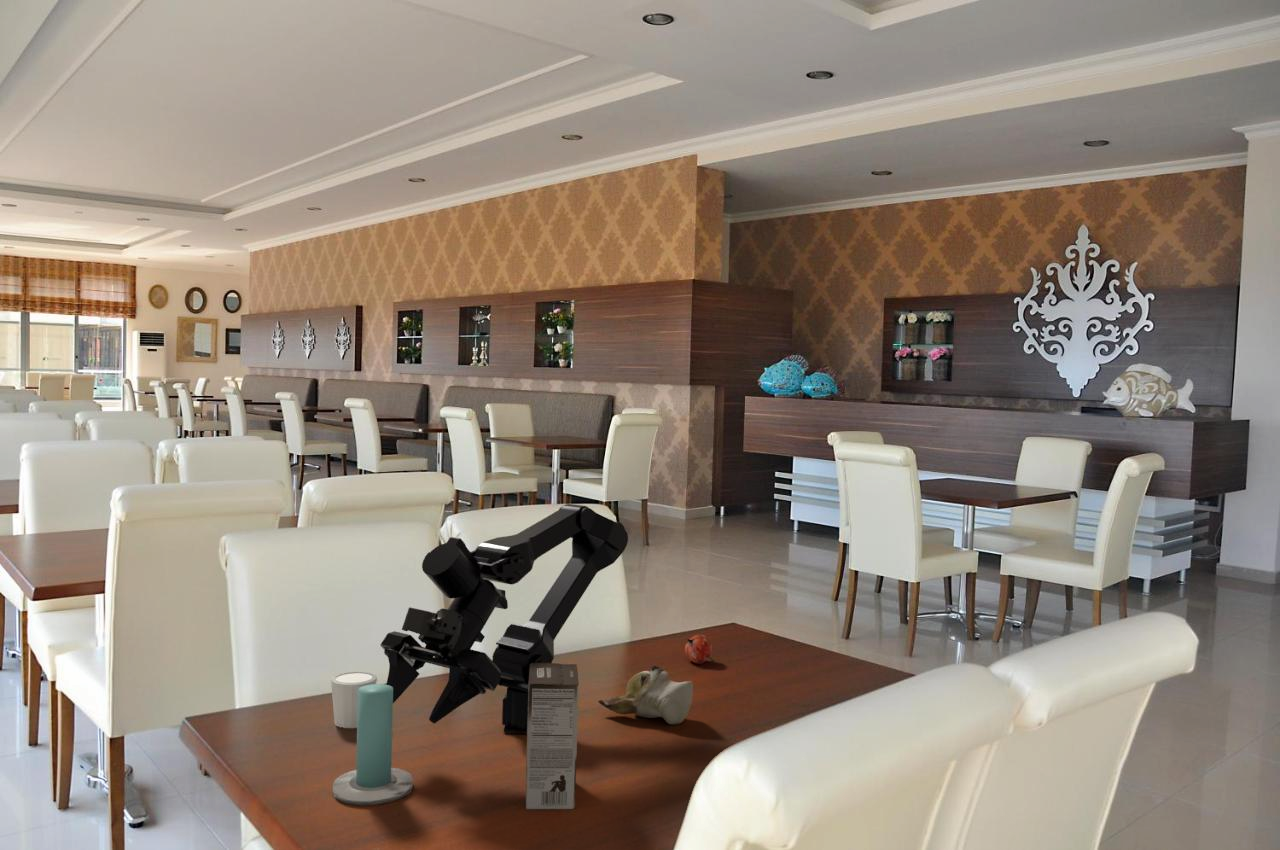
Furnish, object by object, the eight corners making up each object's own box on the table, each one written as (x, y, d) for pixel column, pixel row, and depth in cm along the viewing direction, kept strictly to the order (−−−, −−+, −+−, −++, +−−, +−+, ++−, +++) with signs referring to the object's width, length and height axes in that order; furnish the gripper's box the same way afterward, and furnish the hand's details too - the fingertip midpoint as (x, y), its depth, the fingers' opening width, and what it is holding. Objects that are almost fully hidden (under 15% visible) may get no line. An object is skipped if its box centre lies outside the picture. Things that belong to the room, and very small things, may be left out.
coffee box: (526, 781, 132) (529, 662, 131) (574, 781, 132) (577, 662, 132) (524, 810, 123) (527, 682, 122) (575, 810, 123) (579, 682, 123)
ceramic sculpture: (674, 678, 151) (595, 666, 159) (674, 735, 151) (596, 720, 159) (708, 664, 160) (632, 653, 168) (709, 718, 160) (632, 704, 168)
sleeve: (389, 772, 130) (391, 683, 130) (392, 785, 126) (394, 693, 126) (355, 776, 129) (357, 685, 129) (356, 789, 125) (358, 695, 124)
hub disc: (420, 775, 133) (420, 767, 133) (402, 806, 123) (402, 798, 123) (346, 772, 133) (346, 764, 133) (322, 804, 123) (322, 795, 123)
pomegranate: (700, 665, 196) (672, 644, 194) (718, 644, 196) (690, 622, 194) (709, 677, 191) (680, 655, 188) (727, 654, 191) (699, 632, 189)
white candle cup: (363, 731, 149) (364, 685, 148) (321, 727, 150) (322, 681, 150) (383, 717, 155) (384, 673, 155) (343, 712, 157) (344, 669, 156)
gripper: (391, 575, 141) (327, 669, 132) (487, 593, 130) (424, 697, 122) (431, 618, 148) (373, 711, 139) (525, 639, 137) (469, 741, 129)
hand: (407, 714), depth 132 cm, fingers open, 9 cm apart
